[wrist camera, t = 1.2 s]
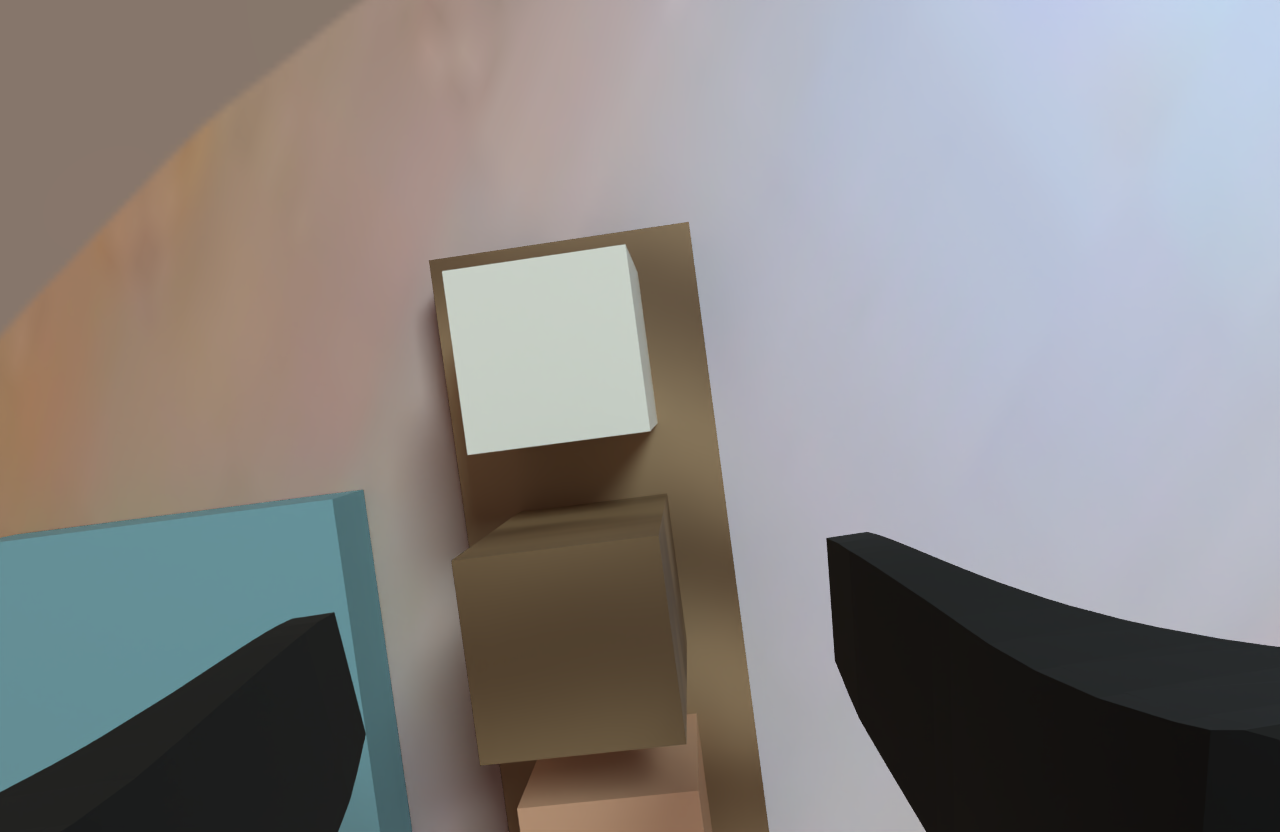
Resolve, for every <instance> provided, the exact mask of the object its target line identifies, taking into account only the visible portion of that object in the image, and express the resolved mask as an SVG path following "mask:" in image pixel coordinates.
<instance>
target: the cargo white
mask: <svg viewBox="0 0 1280 832" xmlns="http://www.w3.org/2000/svg"><path fill="white" fill-rule="evenodd" d="M442 276H443V283H444V290H445V297H446V304H447V312H448V319H449V326H450V333H451V340H452V347H453V354H454V362H455V369H456V376H457V383H458V390H459V397H460V405H461V412H462V419H463V426H464V433H465V440H466V448H467V455H472V454H480V453H487V452H495V451H503V450H510V449H518V448H526V447H533V446H541V445H549V444H556V443H564V442H572V441H579V440H587V439H595V438H602V437H610V436H618V435H625V434H633V433H641V432H648V431H651V430H652V429H653V428H654V427H655V426H656V424H657V423H658V422H657V414H656V407H655V399H654V392H653V384H652V377H651V369H650V362H649V354H648V347H647V339H646V332H645V324H644V317H643V309H642V302H641V294H640V287H639V279H638V272H637V270H636V268H635V265H634V263H633V261H632V258H631V256H630V254H629V251H628V249H627V247H626V244H624V245H617V246H610V247H604V248H597V249H590V250H583V251H576V252H570V253H563V254H556V255H549V256H542V257H536V258H529V259H522V260H515V261H508V262H502V263H495V264H488V265H481V266H474V267H467V268H461V269H454V270H447V271H442Z"/></svg>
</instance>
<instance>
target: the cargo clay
mask: <svg viewBox="0 0 1280 832" xmlns="http://www.w3.org/2000/svg"><path fill="white" fill-rule="evenodd" d="M517 811H518V819H519V826H520V832H712V825H711V818H710V810H709V803H708V795H707V788H706V780H705V773H704V765H703V758H702V750H701V743H700V735H699V727H698V720H697V713H695V714H687V742H686V744H684V745H674V746H665V747H655V748H646V749H636V750H626V751H617V752H607V753H597V754H588V755H578V756H569V757H559V758H549V759H540V760H537V761H536V764H535V766H534V769H533V771H532V773H531V776H530V778H529V781H528V783H527V786H526V788H525V791H524V793H523V795H522V798H521V800H520V803H519V805H518V808H517Z"/></svg>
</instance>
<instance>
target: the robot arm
mask: <svg viewBox="0 0 1280 832" xmlns="http://www.w3.org/2000/svg"><path fill="white" fill-rule="evenodd" d="M827 552H828V567H829V581H830V595H831V610H832V624H833V638H834V653H835V662H836V664H837V667H838V669H839V672H840V674H841V676H842V679H843V681H844V684H845V686H846V689H847V691H848V694H849V696H850V698H851V700H852V703H853V705H854V707H855V710H856V712H857V714H858V717H859V719H860V720H861V722H862V724H863V726H864V727H865V729H866V731H867V733H868V734H869V736H870V738H871V740H872V741H873V743H874V745H875V746H876V748H877V750H878V752H879V753H880V755H881V757H882V758H883V760H884V762H885V763H886V765H887V767H888V769H889V770H890V772H891V774H892V775H893V777H894V779H895V780H896V782H897V784H898V785H899V787H900V789H901V790H902V792H903V794H904V795H905V797H906V799H907V800H908V802H909V804H910V805H911V807H912V809H913V810H914V812H915V814H916V815H917V817H918V819H919V820H920V822H921V824H922V825H923V827H924V829H925V831H926V832H1280V647H1275V646H1267V645H1260V644H1253V643H1246V642H1239V641H1232V640H1225V639H1219V638H1213V637H1208V636H1202V635H1197V634H1192V633H1186V632H1181V631H1175V630H1170V629H1165V628H1159V627H1154V626H1150V625H1145V624H1140V623H1136V622H1131V621H1127V620H1123V619H1119V618H1115V617H1111V616H1107V615H1103V614H1100V613H1096V612H1092V611H1088V610H1084V609H1080V608H1077V607H1073V606H1069V605H1066V604H1062V603H1059V602H1056V601H1052V600H1049V599H1046V598H1043V597H1040V596H1037V595H1034V594H1031V593H1028V592H1025V591H1022V590H1019V589H1016V588H1013V587H1011V586H1008V585H1005V584H1002V583H999V582H996V581H994V580H991V579H988V578H986V577H983V576H980V575H978V574H975V573H973V572H970V571H968V570H965V569H962V568H960V567H958V566H955V565H953V564H950V563H948V562H945V561H943V560H940V559H938V558H935V557H933V556H931V555H928V554H926V553H923V552H921V551H919V550H916V549H914V548H911V547H909V546H906V545H904V544H901V543H899V542H896V541H894V540H891V539H889V538H886V537H883V536H880V535H877V534H873V533H869V532H864V533H857V534H851V535H844V536H837V537H831V538H827ZM365 736H366V732H365V728H364V725H363V721H362V717H361V713H360V709H359V705H358V701H357V697H356V694H355V690H354V686H353V682H352V678H351V674H350V670H349V666H348V663H347V659H346V655H345V651H344V647H343V643H342V639H341V635H340V632H339V628H338V624H337V620H336V616H335V612H332V613H326V614H319V615H312V616H306V617H299V618H292V619H290V620H288V621H286V622H284V623H281V624H279V625H278V626H276V627H274V628H272V629H270V630H269V631H267V632H265V633H264V634H262V635H260V636H259V637H257V638H255V639H254V640H252V641H251V642H249V643H247V644H246V645H244V646H243V647H241V648H240V649H238V650H237V651H235V652H234V653H232V654H230V655H229V656H227V657H226V658H224V659H223V660H221V661H220V662H218V663H217V664H215V665H214V666H212V667H211V668H209V669H208V670H206V671H205V672H203V673H201V674H200V675H198V676H197V677H195V678H194V679H192V680H191V681H189V682H188V683H186V684H185V685H183V686H182V687H180V688H179V689H177V690H176V691H174V692H173V693H171V694H169V695H168V696H166V697H165V698H163V699H161V700H160V701H158V702H157V703H155V704H153V705H152V706H150V707H148V708H147V709H145V710H144V711H142V712H140V713H139V714H137V715H135V716H134V717H132V718H131V719H129V720H127V721H126V722H124V723H123V724H121V725H119V726H118V727H116V728H114V729H113V730H111V731H110V732H108V733H106V734H105V735H103V736H101V737H100V738H98V739H97V740H95V741H93V742H91V743H90V744H88V745H86V746H84V747H83V748H81V749H79V750H78V751H76V752H74V753H72V754H70V755H69V756H67V757H65V758H63V759H61V760H60V761H58V762H56V763H54V764H52V765H51V766H49V767H47V768H45V769H43V770H41V771H39V772H37V773H35V774H34V775H32V776H30V777H28V778H26V779H24V780H22V781H20V782H18V783H16V784H15V785H13V786H11V787H9V788H7V789H5V790H3V791H1V792H0V832H338V831H339V828H340V826H341V823H342V821H343V818H344V815H345V813H346V810H347V807H348V805H349V802H350V799H351V795H352V791H353V787H354V784H355V780H356V776H357V772H358V768H359V763H360V759H361V754H362V750H363V745H364V741H365Z"/></svg>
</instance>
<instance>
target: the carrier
mask: <svg viewBox="0 0 1280 832" xmlns="http://www.w3.org/2000/svg"><path fill="white" fill-rule="evenodd" d="M624 244H626V247H627V249H628V251H629V254H630V256H631V258H632V261H633V263H634V265H635V268H636V270H637V272H638V279H639V287H640V294H641V302H642V309H643V317H644V324H645V332H646V339H647V347H648V354H649V362H650V369H651V377H652V384H653V392H654V399H655V407H656V414H657V422H658V423H657V424H656V426H655V427H654V428H653V429H652V430H651V431H648V432H641V433H633V434H625V435H618V436H610V437H602V438H595V439H587V440H579V441H572V442H564V443H556V444H549V445H541V446H533V447H526V448H518V449H510V450H503V451H495V452H487V453H480V454H472V455H467V448H466V440H465V433H464V426H463V419H462V412H461V405H460V397H459V390H458V383H457V376H456V369H455V362H454V354H453V347H452V340H451V333H450V326H449V319H448V312H447V304H446V297H445V290H444V283H443V276H442V271H447V270H454V269H461V268H467V267H474V266H481V265H488V264H495V263H502V262H508V261H515V260H522V259H529V258H536V257H542V256H549V255H556V254H563V253H570V252H576V251H583V250H590V249H597V248H604V247H610V246H617V245H624ZM429 264H430V271H431V278H432V285H433V292H434V300H435V307H436V314H437V321H438V328H439V335H440V342H441V349H442V357H443V364H444V371H445V378H446V385H447V392H448V399H449V407H450V414H451V421H452V428H453V435H454V442H455V449H456V457H457V464H458V471H459V478H460V485H461V492H462V499H463V507H464V514H465V521H466V528H467V535H468V542H469V549H467V550H466V551H464V552H463V553H462V554H460V555H459V556H457V557H456V558H455V559H453V560H452V569H453V576H454V583H455V590H456V597H457V604H458V611H459V618H460V625H461V633H462V640H463V647H464V654H465V661H466V668H467V675H468V682H469V689H470V696H471V704H472V711H473V718H474V725H475V732H476V739H477V746H478V753H479V760H480V766H482V765H491V764H500V771H501V778H502V785H503V792H504V799H505V806H506V813H507V821H508V828H509V832H520V826H519V819H518V811H517V808H518V805H519V803H520V800H521V798H522V795H523V793H524V791H525V788H526V786H527V783H528V781H529V778H530V776H531V773H532V771H533V769H534V766H535V764H536V761H537V760H540V759H549V758H559V757H569V756H578V755H588V754H597V753H607V752H617V751H626V750H636V749H646V748H655V747H665V746H674V745H684V744H686V742H687V714H695V713H697V720H698V727H699V735H700V743H701V750H702V758H703V765H704V773H705V780H706V788H707V795H708V803H709V810H710V818H711V825H712V832H769V828H768V820H767V813H766V805H765V798H764V790H763V782H762V775H761V767H760V760H759V752H758V744H757V737H756V729H755V722H754V714H753V707H752V699H751V691H750V684H749V676H748V669H747V661H746V653H745V646H744V638H743V631H742V623H741V615H740V608H739V600H738V593H737V585H736V578H735V570H734V562H733V555H732V547H731V540H730V532H729V524H728V517H727V509H726V502H725V494H724V486H723V479H722V471H721V464H720V456H719V449H718V441H717V433H716V426H715V418H714V411H713V403H712V395H711V388H710V380H709V373H708V365H707V357H706V350H705V342H704V335H703V327H702V320H701V312H700V304H699V297H698V289H697V282H696V274H695V266H694V259H693V251H692V244H691V236H690V229H689V222H685V223H678V224H672V225H665V226H658V227H651V228H645V229H638V230H631V231H624V232H618V233H611V234H604V235H597V236H591V237H584V238H577V239H571V240H564V241H557V242H550V243H544V244H537V245H530V246H523V247H517V248H510V249H503V250H497V251H490V252H483V253H476V254H470V255H463V256H456V257H449V258H443V259H436V260H429Z"/></svg>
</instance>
